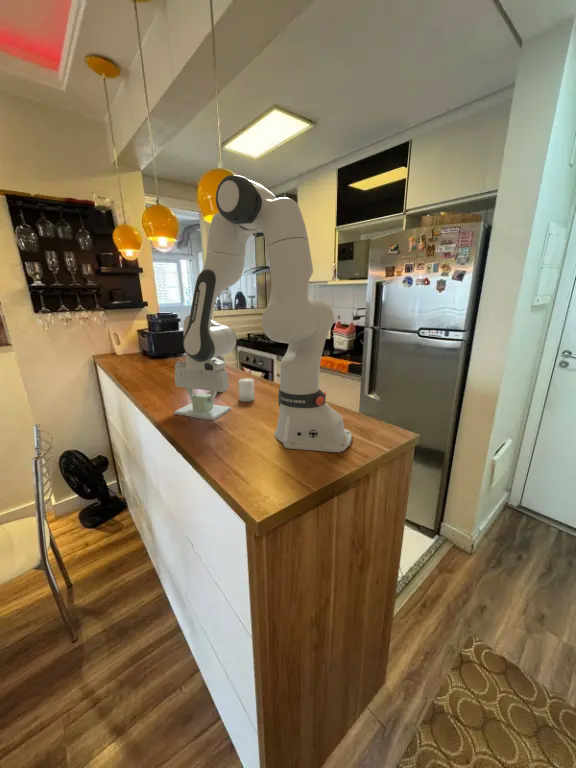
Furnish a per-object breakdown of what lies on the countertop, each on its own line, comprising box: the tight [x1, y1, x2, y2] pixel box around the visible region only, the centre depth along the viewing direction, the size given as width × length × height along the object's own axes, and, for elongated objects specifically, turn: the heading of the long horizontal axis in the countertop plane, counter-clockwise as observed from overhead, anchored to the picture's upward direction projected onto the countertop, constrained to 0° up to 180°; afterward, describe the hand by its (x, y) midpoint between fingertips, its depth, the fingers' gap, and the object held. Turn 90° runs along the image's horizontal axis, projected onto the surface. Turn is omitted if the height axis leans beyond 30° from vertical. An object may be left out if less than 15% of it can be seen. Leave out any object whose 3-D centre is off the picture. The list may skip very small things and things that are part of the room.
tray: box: [174, 402, 232, 421], centre depth 110 cm, size 16×11×1 cm
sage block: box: [191, 392, 214, 412], centre depth 109 cm, size 5×5×5 cm
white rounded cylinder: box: [238, 377, 255, 403], centre depth 122 cm, size 6×6×8 cm
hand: (202, 400), depth 109 cm, fingers open, 6 cm apart
